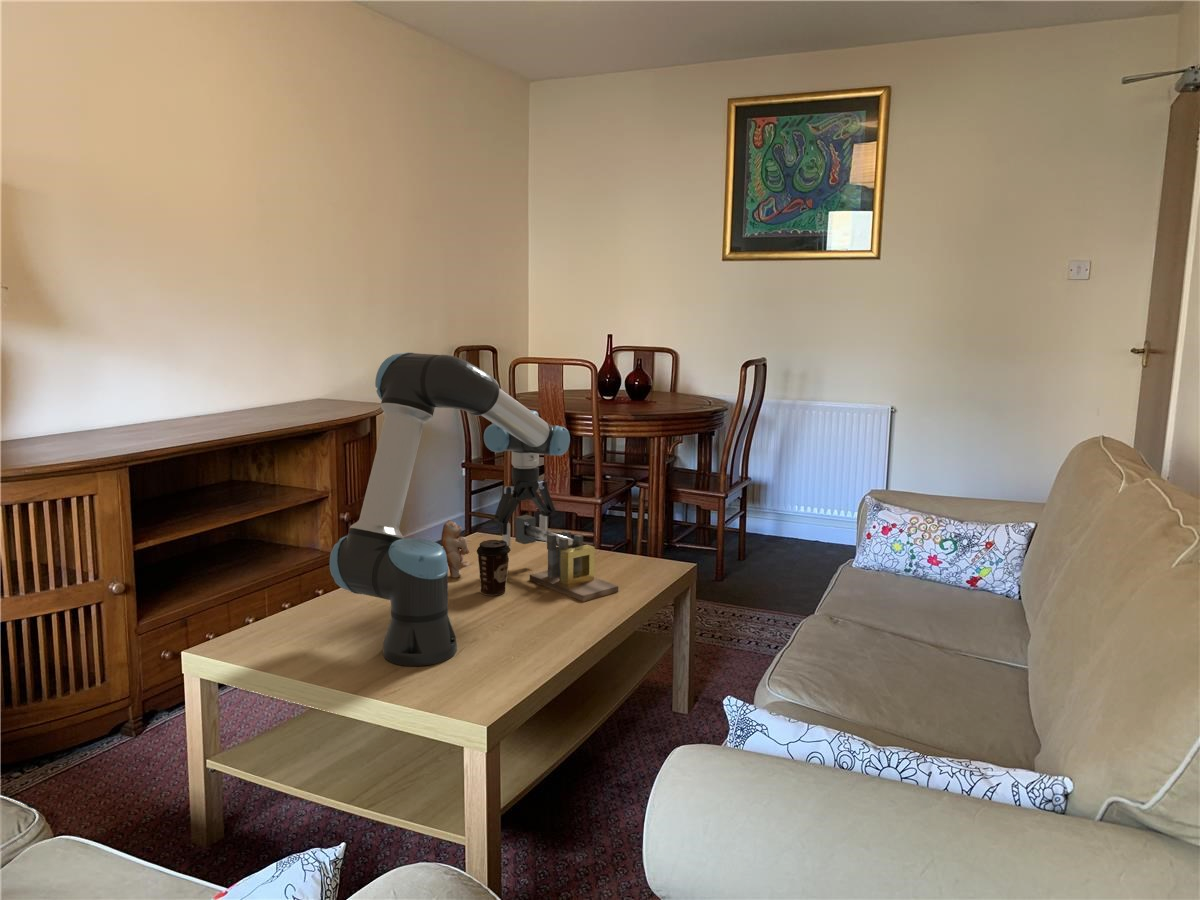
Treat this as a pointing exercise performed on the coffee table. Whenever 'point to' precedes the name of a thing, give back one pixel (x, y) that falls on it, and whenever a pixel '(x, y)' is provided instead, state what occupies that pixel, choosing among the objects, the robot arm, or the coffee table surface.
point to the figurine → (454, 548)
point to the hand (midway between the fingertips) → (525, 541)
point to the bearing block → (578, 591)
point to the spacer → (587, 565)
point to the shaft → (534, 532)
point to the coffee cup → (493, 566)
